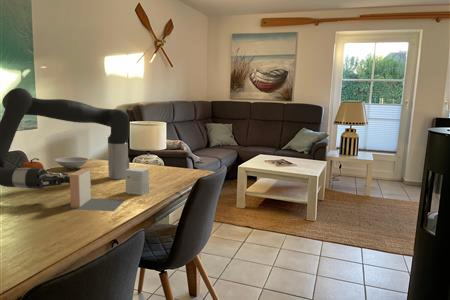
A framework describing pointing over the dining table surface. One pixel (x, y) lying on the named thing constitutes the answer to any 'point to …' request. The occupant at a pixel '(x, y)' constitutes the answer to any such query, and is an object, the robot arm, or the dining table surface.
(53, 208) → the dining table surface
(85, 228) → the dining table surface
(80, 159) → the dish
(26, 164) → the fruit
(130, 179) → the small box
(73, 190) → the pink rectangular block
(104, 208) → the mat
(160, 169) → the dining table surface
